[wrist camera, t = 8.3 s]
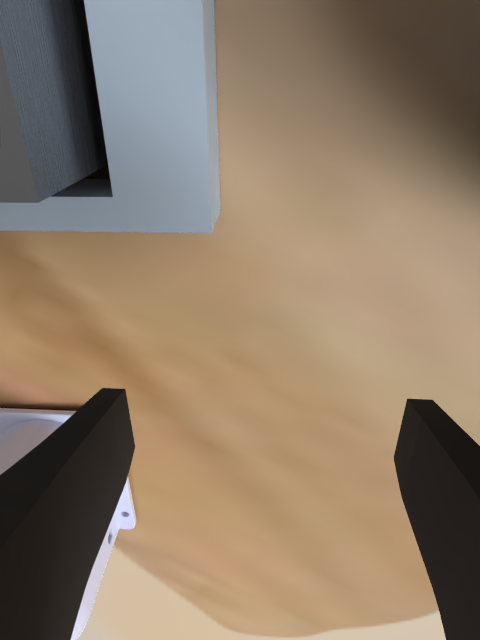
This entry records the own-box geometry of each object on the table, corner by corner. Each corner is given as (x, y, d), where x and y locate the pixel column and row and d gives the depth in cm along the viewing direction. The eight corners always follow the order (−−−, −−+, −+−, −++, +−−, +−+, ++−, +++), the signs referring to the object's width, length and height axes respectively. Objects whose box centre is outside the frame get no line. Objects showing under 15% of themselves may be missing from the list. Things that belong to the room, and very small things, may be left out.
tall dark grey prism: (120, 158, 18) (38, 202, 11) (47, 158, 18) (-71, 202, 12) (93, -32, 15) (-35, -108, 8) (6, -30, 15) (-180, -102, 9)
